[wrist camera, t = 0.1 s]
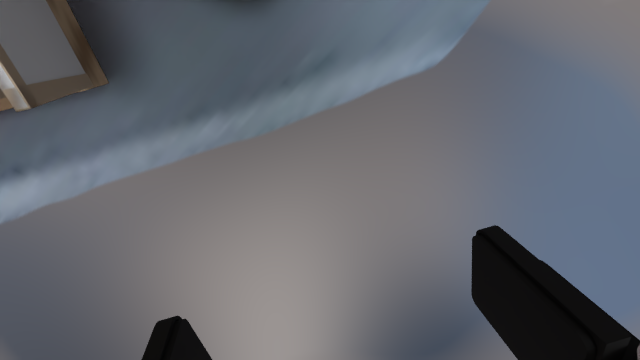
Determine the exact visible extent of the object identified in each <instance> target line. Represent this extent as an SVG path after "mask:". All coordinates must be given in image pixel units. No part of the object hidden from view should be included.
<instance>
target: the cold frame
mask: <svg viewBox="0 0 640 360" xmlns="http://www.w3.org/2000/svg"><path fill="white" fill-rule="evenodd" d="M46 1H47V3H48V5H49V7H50V9H51V11H52V13H53V14H54V16H55V18H56V20H57V22H58V24H59V25H60V27H61V29H62V31H63V33H64V35H65V36H66V38H67V40H68V42H69V44H70V46H71V48H72V49H73V51H74V53H75V55H76V57H77V59H78V60H79V62H80V64H81V66H82V68H83V70H84V71H85V73H87V75H88V76H89V78H90V80H91V82H92V84H93V86H92V87H90V88H87V89H84V90H81V91H85V90H89V89H92V88H95V87H98V86H102V85H105V84H108V83H109V82H108V80H107V78H106V77H105V75H104V73H103V71H102V69H101V67H100V65H99V63H98V61H97V59H96V57H95V55H94V53H93V51H92V49H91V47H90V46H89V44H88V42H87V40H86V38H85V36H84V34H83V32H82V30H81V28H80V26H79V24H78V22H77V20H76V18H75V17H74V15H73V13H72V11H71V9H70V7H69V5H68V3H67V1H66V0H46ZM81 91H78V92H81ZM76 93H77V92H76ZM10 108H14V107H13V106H12V104H11V103H10V102H9V100H8V99H7V97H6V96H5V94H4V93H3V91H2V90H1V88H0V111H2V110H6V109H10Z"/></svg>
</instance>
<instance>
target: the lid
mask: <svg viewBox="0 0 640 360" xmlns="http://www.w3.org/2000/svg"><path fill="white" fill-rule="evenodd" d="M92 86H93V84H92V82H91V80H90V78H89V76H88V75H87V73H85V71H84V70H83V68H82V66H81V64H80V62H79V60H78V59H77V57H76V55H75V53H74V51H73V49H72V48H71V46H70V44H69V42H68V40H67V38H66V36H65V35H64V33H63V31H62V29H61V27H60V25H59V24H58V22H57V20H56V18H55V16H54V14H53V13H52V11H51V9H50V7H49V5H48V3H47V1H46V0H0V88H1V90H2V91H3V93H4V94H5V96H6V97H7V99H8V100H9V102H10V103H11V104H12V106H13V107H14V109H15V110H16V112H19V111H23V110H27V109H31V108H34V107H37V106H40V105H42V104H45V103H48V102H51V101H53V100H56V99H59V98H62V97H65V96H67V95H70V94H73V93H76V92H78V91H81V90H84V89H87V88H90V87H92Z"/></svg>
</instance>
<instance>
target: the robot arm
mask: <svg viewBox="0 0 640 360" xmlns="http://www.w3.org/2000/svg"><path fill="white" fill-rule="evenodd" d="M472 298H473V300H474V302H475V304H476V305H477V307H478V308H479V310H480V311H481V312H482V313H483V315H484V316H485V317H486V319H487V320H488V321H489V323H490V324H491V325H492V327H493V328H494V329H495V330H496V332H497V333H498V334H499V336H500V337H501V338H502V339H503V341H504V342H505V343H506V344H507V346H508V347H509V349H510V350H511V351H512V352H513V354H514V355H515V357H516V358H517V359H518V360H640V340H639V339H637V338H636V337H635V336H634V335H632V334H631V333H630V332H629V331H627V330H626V329H625V328H624V327H623V326H621V325H620V324H619V323H618V322H617V321H616V320H614V319H613V318H612V317H611V316H609V315H608V314H607V313H606V312H605V311H603V310H602V309H601V308H600V307H598V306H597V305H596V304H595V303H594V302H592V301H591V300H590V299H589V298H588V297H586V296H585V295H584V294H583V293H581V292H580V291H579V290H578V289H577V288H575V287H574V286H573V285H572V284H570V283H569V282H568V281H567V280H566V279H565V278H563V277H562V276H561V275H560V274H558V273H557V272H556V271H555V270H553V269H552V268H551V267H550V266H549V265H548V264H546V263H544V262H543V261H541V260H539V259H537V258H536V257H535V256H534V255H532V254H531V253H530V252H529V251H528V250H526V249H525V248H524V247H523V246H522V245H521V244H519V243H518V242H517V241H516V240H515V239H513V238H512V237H511V236H510V235H509V234H507V233H506V232H505V231H504V230H503V229H501V228H500V227H499V226H491V227H488V228H484V229H481V230H478V231H477V232H476V236H474V237H473V238H472ZM142 360H212V359H211V357H210V355H209V354H208V352H207V351H206V349H205V348H204V346H203V344H202V343H201V341H200V340H199V338H198V337H197V335H196V333H195V332H194V330H193V329H192V327H191V325H190V324H189V322H188V321H187V320H186V319H182V318H181V317H180V316H175V317H171V318H168V319H164V320H161V321H158V322H157V323H156V325H155V327H154V329H153V332H152V334H151V337H150V340H149V342H148V345H147V347H146V350H145V353H144V355H143V358H142Z"/></svg>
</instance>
